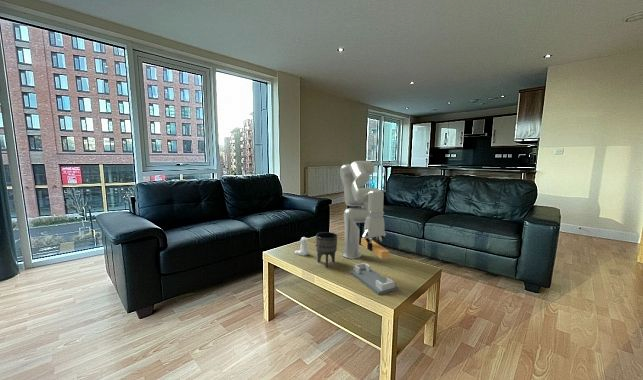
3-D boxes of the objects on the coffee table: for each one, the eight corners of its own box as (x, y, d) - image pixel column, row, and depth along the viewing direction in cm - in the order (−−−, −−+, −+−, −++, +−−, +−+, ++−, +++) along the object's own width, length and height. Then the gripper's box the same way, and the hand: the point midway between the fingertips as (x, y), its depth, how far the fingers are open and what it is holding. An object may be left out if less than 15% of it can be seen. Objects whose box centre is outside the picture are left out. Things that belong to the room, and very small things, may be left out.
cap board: (350, 273, 143) (350, 265, 142) (367, 269, 148) (368, 262, 148) (378, 294, 121) (378, 285, 120) (398, 289, 126) (398, 280, 125)
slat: (361, 244, 142) (361, 237, 142) (367, 243, 143) (367, 237, 143) (381, 258, 121) (381, 251, 121) (388, 258, 123) (389, 251, 122)
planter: (311, 265, 153) (311, 236, 151) (321, 257, 165) (322, 230, 163) (331, 269, 147) (331, 239, 145) (340, 261, 159) (340, 233, 157)
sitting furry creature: (305, 250, 177) (305, 233, 176) (313, 254, 171) (313, 236, 170) (293, 254, 171) (293, 236, 170) (301, 257, 165) (301, 239, 163)
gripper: (383, 211, 137) (382, 244, 139) (357, 214, 130) (356, 249, 132) (393, 214, 130) (391, 249, 133) (365, 217, 123) (364, 254, 125)
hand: (373, 248), depth 132 cm, fingers closed on slat, 4 cm apart
